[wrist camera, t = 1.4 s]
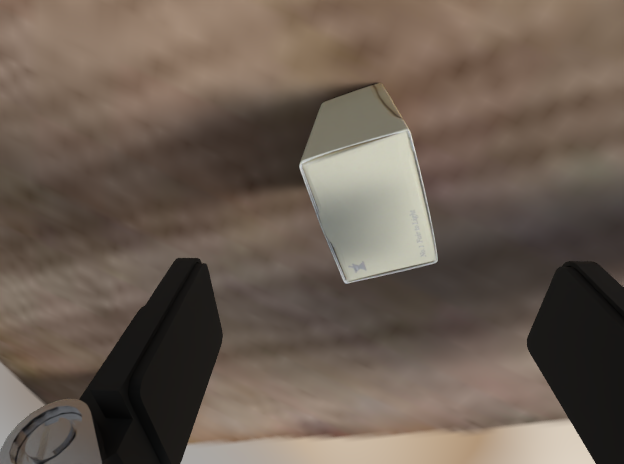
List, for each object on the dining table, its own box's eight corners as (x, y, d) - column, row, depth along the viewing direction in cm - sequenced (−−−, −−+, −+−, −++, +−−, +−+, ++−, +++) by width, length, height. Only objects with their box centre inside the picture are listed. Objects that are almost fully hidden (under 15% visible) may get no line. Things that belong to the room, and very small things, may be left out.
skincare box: (401, 166, 25) (444, 267, 15) (342, 183, 26) (344, 289, 16) (380, 77, 22) (416, 125, 12) (315, 100, 23) (294, 163, 13)
